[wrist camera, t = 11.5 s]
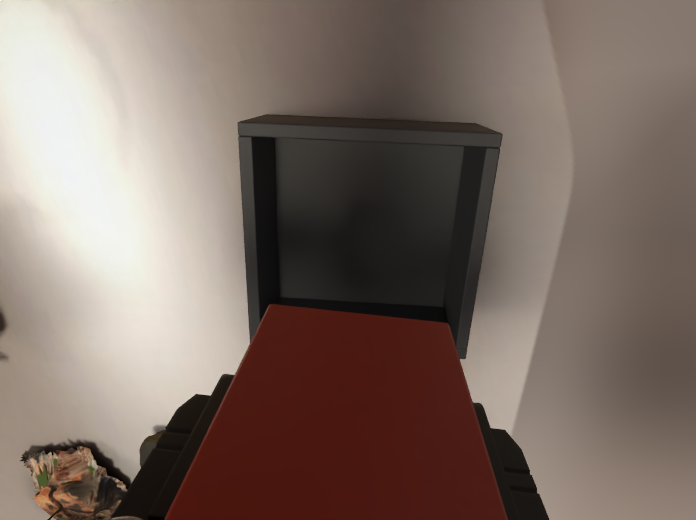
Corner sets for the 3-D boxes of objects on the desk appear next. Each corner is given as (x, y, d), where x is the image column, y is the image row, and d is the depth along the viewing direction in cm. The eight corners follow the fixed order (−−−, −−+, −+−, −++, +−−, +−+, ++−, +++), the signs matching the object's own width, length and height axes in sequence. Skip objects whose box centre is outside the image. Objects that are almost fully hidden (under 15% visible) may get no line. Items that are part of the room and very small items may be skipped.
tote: (265, 114, 23) (237, 121, 18) (477, 123, 23) (503, 133, 18) (271, 301, 27) (249, 345, 23) (450, 312, 27) (465, 359, 22)
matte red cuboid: (269, 301, 11) (148, 545, 5) (449, 321, 10) (533, 592, 5) (266, 440, 12) (173, 737, 7) (421, 457, 12) (460, 775, 7)
